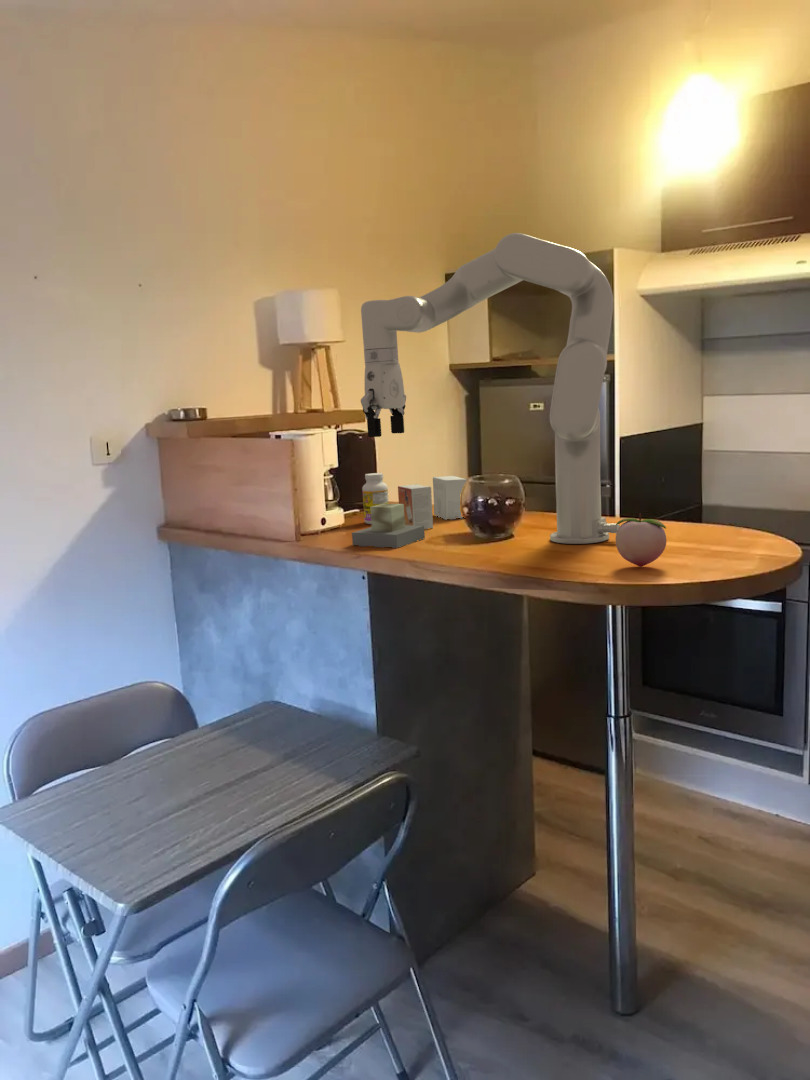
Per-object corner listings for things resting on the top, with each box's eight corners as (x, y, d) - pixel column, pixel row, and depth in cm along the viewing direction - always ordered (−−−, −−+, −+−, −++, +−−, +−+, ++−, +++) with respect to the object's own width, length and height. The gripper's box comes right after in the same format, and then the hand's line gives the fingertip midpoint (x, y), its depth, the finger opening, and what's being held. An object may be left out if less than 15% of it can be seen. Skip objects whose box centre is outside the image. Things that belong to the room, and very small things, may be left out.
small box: (399, 527, 231) (397, 485, 229) (419, 524, 233) (417, 483, 231) (413, 531, 223) (410, 488, 222) (433, 528, 226) (431, 486, 224)
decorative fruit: (610, 571, 167) (609, 517, 165) (619, 562, 174) (618, 510, 172) (663, 573, 163) (663, 517, 161) (670, 563, 170) (669, 510, 169)
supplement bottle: (362, 522, 243) (359, 473, 240) (386, 519, 244) (383, 471, 242) (367, 525, 236) (364, 476, 234) (392, 523, 238) (389, 474, 235)
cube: (405, 527, 210) (403, 503, 210) (392, 531, 206) (391, 507, 205) (384, 526, 213) (383, 503, 212) (372, 530, 209) (370, 507, 208)
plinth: (424, 538, 212) (424, 525, 211) (397, 548, 202) (396, 534, 201) (381, 536, 218) (380, 524, 218) (352, 545, 208) (351, 532, 208)
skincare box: (469, 518, 239) (467, 478, 237) (445, 520, 237) (443, 480, 235) (456, 513, 249) (454, 474, 247) (433, 515, 247) (431, 476, 245)
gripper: (374, 357, 194) (380, 437, 197) (415, 356, 209) (420, 431, 212) (345, 359, 198) (351, 438, 201) (387, 358, 213) (392, 432, 216)
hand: (386, 434), depth 206 cm, fingers open, 9 cm apart
